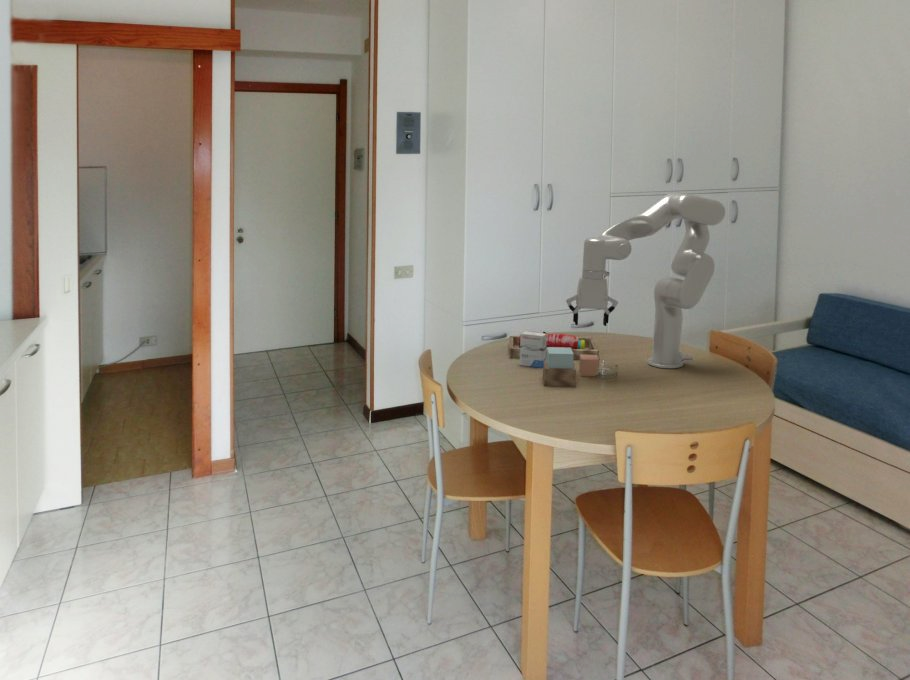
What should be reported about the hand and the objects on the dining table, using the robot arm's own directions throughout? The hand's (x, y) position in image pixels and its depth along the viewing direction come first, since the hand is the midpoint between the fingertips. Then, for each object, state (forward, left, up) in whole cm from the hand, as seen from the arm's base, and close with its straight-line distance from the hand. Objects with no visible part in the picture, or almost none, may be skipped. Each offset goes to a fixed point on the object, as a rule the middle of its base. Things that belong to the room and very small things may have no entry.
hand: (590, 324), depth 242 cm
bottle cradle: (+11, -27, -17) cm, 34 cm away
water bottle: (+11, -28, -18) cm, 35 cm away
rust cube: (0, 0, -18) cm, 18 cm away
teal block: (+11, +10, -12) cm, 19 cm away
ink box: (+19, -9, -18) cm, 27 cm away
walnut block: (+11, +10, -18) cm, 23 cm away
